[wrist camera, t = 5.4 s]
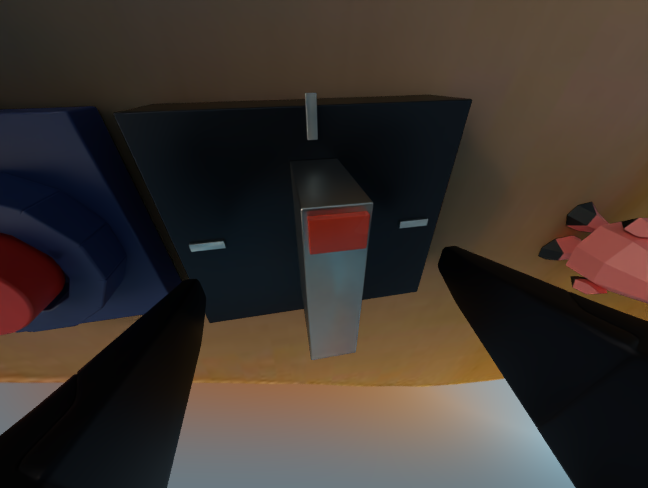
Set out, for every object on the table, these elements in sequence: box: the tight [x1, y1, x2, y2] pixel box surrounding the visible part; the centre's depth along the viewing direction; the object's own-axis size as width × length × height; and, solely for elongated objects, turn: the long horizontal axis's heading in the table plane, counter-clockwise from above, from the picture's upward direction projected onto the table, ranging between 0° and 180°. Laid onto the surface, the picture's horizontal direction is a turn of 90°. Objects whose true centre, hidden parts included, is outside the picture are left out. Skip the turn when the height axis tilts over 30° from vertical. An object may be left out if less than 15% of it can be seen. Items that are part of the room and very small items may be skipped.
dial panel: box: [113, 93, 472, 323], centre depth 12 cm, size 12×11×3 cm
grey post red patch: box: [290, 158, 373, 360], centre depth 9 cm, size 6×2×4 cm, turn 0°
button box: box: [0, 106, 182, 332], centre depth 10 cm, size 8×10×4 cm
